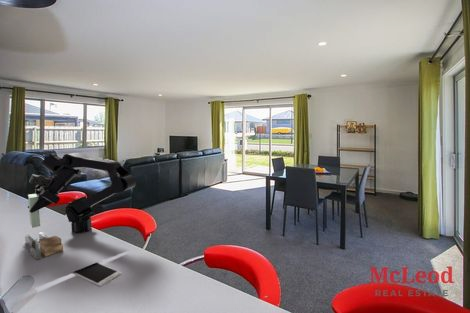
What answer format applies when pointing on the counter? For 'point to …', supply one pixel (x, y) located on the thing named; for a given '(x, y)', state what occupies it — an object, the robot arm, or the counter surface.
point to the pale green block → (35, 215)
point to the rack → (35, 246)
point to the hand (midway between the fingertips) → (29, 210)
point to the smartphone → (97, 273)
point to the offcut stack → (51, 245)
